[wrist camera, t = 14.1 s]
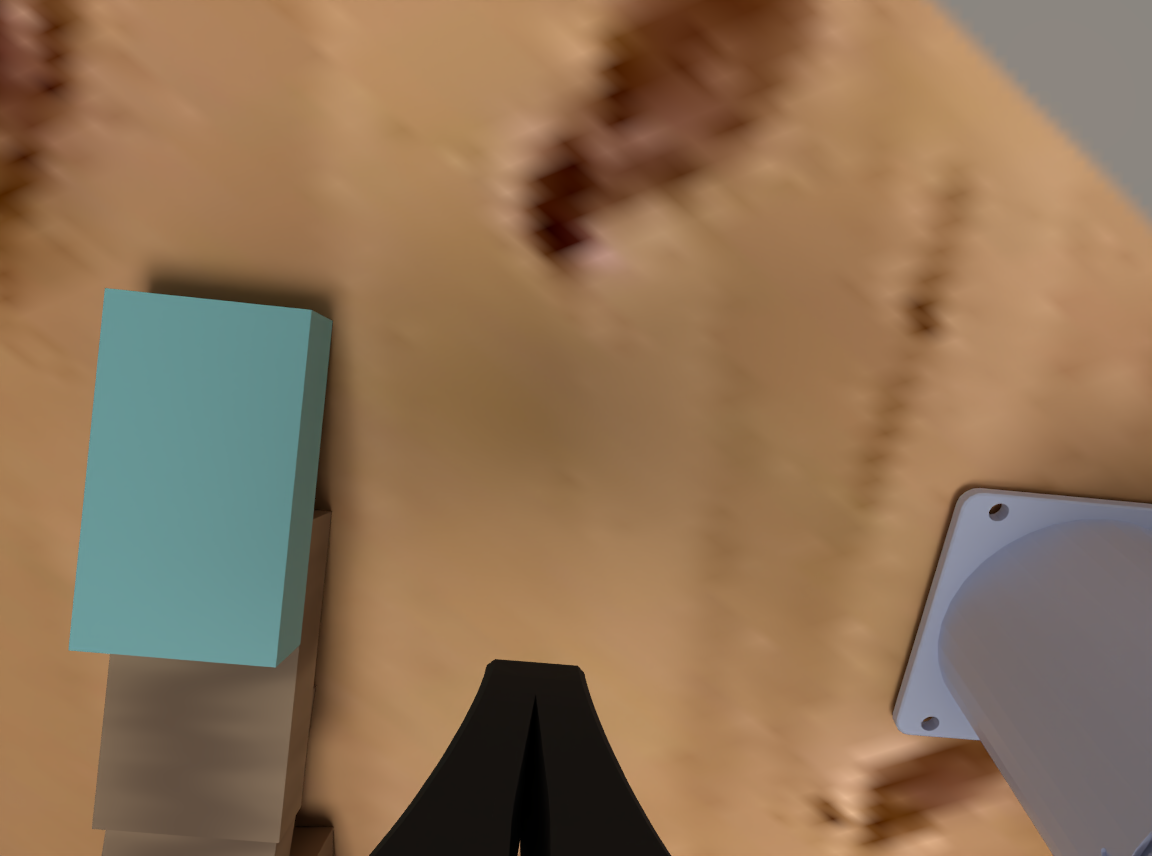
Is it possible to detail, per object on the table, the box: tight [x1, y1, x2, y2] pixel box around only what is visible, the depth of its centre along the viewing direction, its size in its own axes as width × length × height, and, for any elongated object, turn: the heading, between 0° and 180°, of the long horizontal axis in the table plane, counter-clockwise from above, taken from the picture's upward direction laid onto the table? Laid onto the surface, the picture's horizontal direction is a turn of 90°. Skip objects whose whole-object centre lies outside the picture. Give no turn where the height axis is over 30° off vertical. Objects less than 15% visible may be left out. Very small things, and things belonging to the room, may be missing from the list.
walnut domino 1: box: [92, 510, 332, 843], centre depth 22 cm, size 4×2×8 cm
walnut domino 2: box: [102, 685, 316, 856], centre depth 24 cm, size 4×2×8 cm
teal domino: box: [69, 288, 333, 668], centre depth 20 cm, size 4×2×8 cm
